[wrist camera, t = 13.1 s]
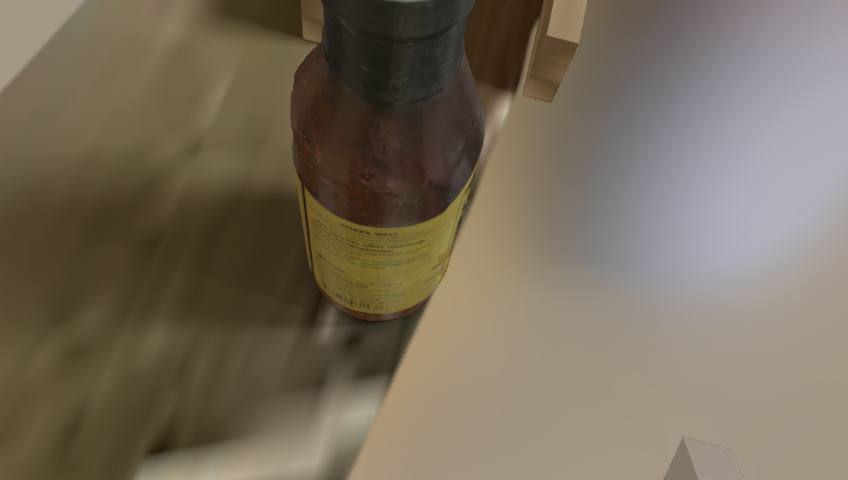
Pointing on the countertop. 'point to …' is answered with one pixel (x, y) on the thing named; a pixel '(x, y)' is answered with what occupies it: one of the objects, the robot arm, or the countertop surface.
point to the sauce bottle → (385, 150)
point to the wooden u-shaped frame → (549, 50)
